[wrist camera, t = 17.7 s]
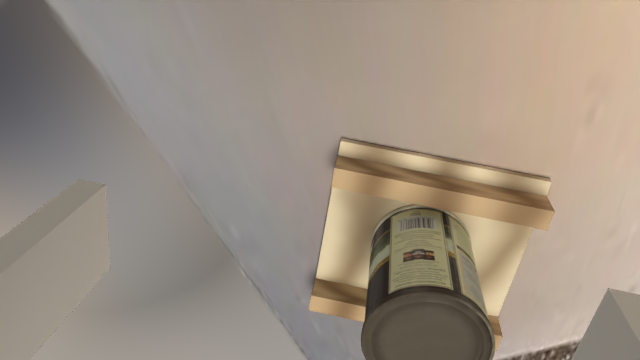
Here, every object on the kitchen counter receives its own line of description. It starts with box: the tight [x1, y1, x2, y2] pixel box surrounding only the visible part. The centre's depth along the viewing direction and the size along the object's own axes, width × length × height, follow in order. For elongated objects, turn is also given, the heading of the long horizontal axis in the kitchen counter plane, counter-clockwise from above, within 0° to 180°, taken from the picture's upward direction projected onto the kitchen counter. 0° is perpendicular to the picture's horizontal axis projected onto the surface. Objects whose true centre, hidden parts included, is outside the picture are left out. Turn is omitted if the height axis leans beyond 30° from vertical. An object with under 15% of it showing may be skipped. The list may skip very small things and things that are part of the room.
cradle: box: [309, 138, 555, 351], centre depth 51 cm, size 20×20×4 cm
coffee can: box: [361, 204, 495, 360], centre depth 46 cm, size 10×10×14 cm
